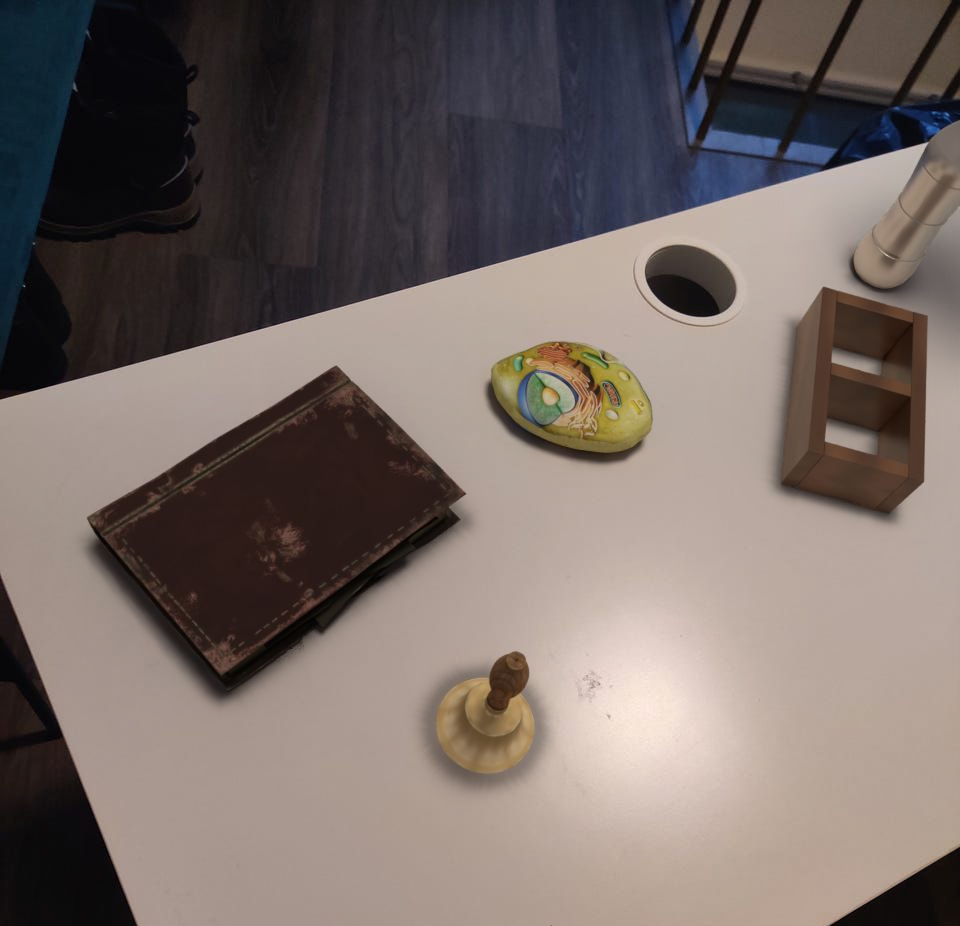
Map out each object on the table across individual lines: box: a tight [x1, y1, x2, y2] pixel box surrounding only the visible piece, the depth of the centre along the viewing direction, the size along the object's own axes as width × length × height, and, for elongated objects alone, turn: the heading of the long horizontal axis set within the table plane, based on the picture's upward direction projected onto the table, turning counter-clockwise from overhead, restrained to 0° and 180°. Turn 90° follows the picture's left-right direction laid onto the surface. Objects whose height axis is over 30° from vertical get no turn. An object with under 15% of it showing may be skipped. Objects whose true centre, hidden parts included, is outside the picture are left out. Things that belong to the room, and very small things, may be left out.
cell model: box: [490, 340, 654, 454], centre depth 79 cm, size 11×8×15 cm
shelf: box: [780, 286, 929, 514], centre depth 83 cm, size 11×20×6 cm, turn 167°
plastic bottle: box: [853, 119, 960, 290], centre depth 85 cm, size 6×7×20 cm
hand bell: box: [435, 650, 535, 774], centre depth 61 cm, size 8×8×16 cm
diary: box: [86, 365, 467, 691], centre depth 71 cm, size 19×25×5 cm
